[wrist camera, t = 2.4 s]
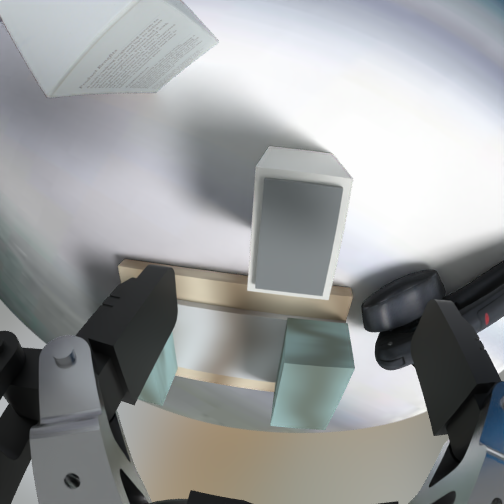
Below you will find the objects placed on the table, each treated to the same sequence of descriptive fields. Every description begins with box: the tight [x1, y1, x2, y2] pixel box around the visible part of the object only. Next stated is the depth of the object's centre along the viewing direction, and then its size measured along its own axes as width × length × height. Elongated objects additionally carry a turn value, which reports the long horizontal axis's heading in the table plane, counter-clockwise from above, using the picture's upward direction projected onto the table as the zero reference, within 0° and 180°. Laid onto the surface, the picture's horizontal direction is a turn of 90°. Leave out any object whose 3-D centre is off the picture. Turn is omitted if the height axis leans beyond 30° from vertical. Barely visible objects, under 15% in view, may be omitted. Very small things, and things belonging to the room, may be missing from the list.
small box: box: [0, 0, 219, 98], centre depth 11 cm, size 8×6×10 cm
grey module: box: [247, 146, 353, 300], centre depth 16 cm, size 4×6×7 cm, turn 176°
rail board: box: [118, 259, 355, 430], centre depth 23 cm, size 18×12×6 cm, turn 86°
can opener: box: [362, 261, 504, 370], centre depth 18 cm, size 18×7×6 cm, turn 114°
